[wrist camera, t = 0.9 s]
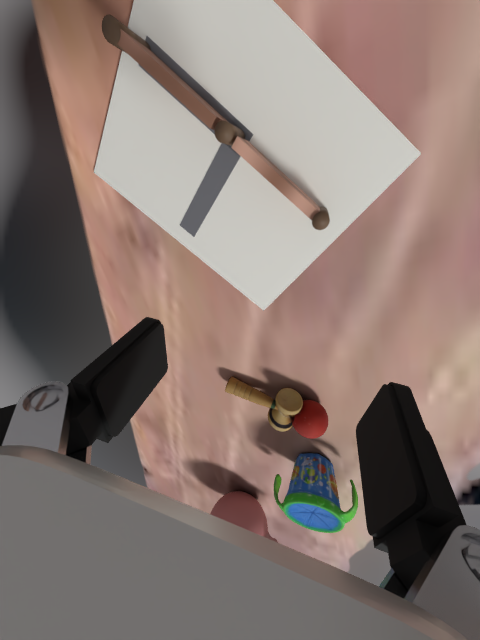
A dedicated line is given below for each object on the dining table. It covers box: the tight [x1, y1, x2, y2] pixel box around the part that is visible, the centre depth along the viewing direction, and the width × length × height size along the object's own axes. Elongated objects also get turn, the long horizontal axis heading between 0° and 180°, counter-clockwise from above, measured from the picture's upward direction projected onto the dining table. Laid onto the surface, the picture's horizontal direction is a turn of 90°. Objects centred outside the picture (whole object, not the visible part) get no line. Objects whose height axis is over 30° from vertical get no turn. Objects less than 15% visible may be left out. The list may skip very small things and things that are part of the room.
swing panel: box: [231, 136, 330, 230], centre depth 24 cm, size 11×2×4 cm, turn 54°
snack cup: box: [274, 453, 358, 533], centre depth 47 cm, size 16×10×10 cm
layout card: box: [94, 0, 421, 311], centre depth 26 cm, size 23×29×1 cm
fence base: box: [102, 15, 245, 146], centre depth 22 cm, size 2×13×5 cm, turn 54°
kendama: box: [225, 377, 328, 438], centre depth 42 cm, size 8×6×18 cm
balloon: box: [211, 491, 278, 543], centre depth 61 cm, size 15×20×15 cm
